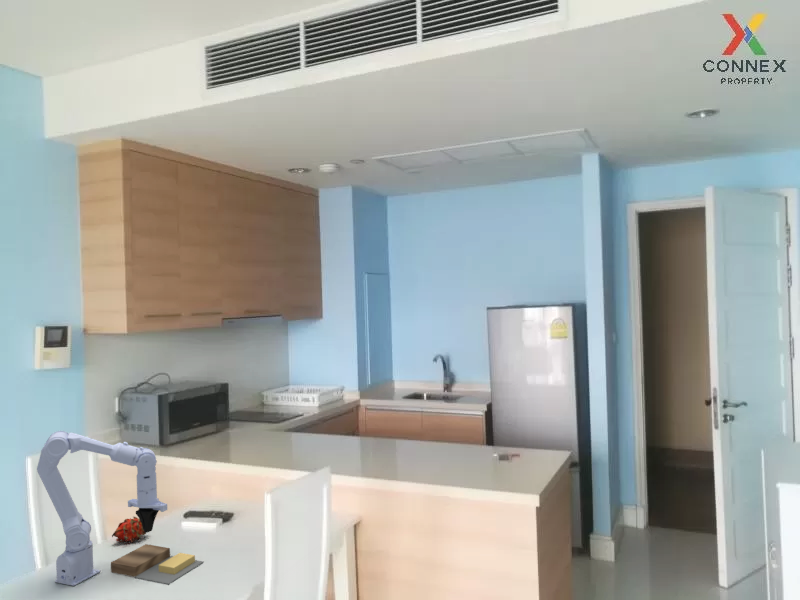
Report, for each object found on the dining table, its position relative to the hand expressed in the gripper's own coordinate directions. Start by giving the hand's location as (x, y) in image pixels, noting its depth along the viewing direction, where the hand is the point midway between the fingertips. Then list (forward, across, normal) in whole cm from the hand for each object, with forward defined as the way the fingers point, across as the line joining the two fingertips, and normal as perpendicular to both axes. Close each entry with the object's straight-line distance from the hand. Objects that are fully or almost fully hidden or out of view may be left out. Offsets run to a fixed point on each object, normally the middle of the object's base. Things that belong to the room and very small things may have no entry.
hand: (148, 531), depth 189 cm
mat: (+10, -10, +2) cm, 14 cm away
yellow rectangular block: (+8, -11, 0) cm, 14 cm away
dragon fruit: (+10, +19, -11) cm, 24 cm away
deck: (+10, +1, +2) cm, 10 cm away
